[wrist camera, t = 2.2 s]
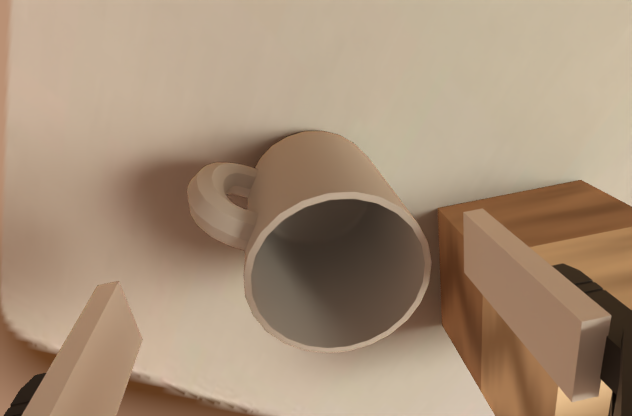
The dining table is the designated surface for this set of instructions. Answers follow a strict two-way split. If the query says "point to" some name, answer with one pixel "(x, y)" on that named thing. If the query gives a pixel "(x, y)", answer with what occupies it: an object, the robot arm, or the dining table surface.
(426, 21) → the dining table surface
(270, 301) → the cup
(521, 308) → the robot arm
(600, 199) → the walnut block
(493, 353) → the beech block
